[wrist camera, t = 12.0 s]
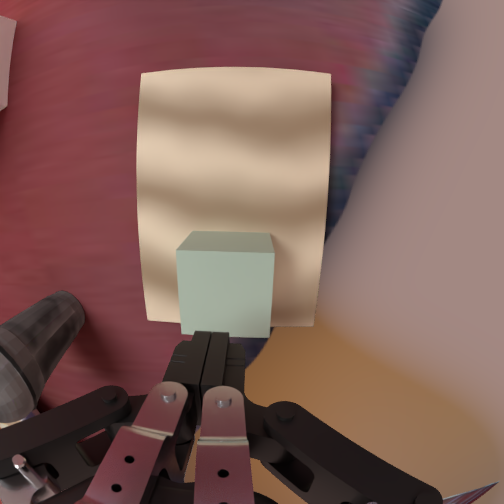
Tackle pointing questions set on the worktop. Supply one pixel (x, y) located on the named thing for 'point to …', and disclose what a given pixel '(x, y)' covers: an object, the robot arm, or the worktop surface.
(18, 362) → the beverage cup
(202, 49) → the worktop surface
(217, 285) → the grey-green block
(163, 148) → the post board
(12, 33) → the milk
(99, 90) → the worktop surface
